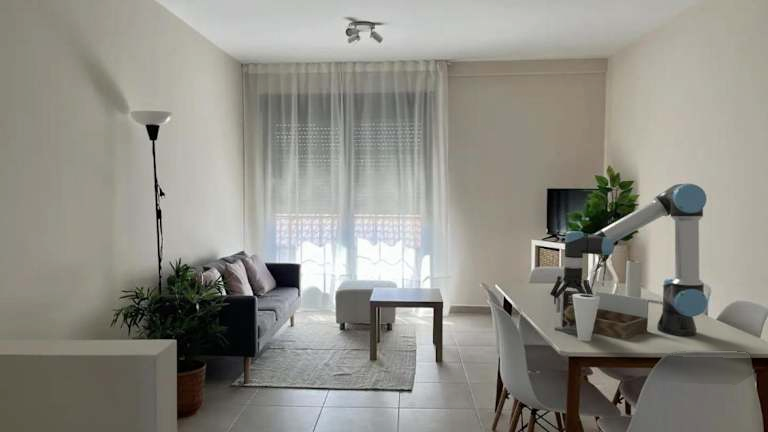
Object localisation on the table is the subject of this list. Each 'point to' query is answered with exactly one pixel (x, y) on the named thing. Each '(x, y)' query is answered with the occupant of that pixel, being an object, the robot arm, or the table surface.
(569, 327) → the coffee box
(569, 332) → the slate mat
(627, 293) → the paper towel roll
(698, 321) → the table surface
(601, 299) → the lid
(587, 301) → the cup
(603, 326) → the wooden tray
